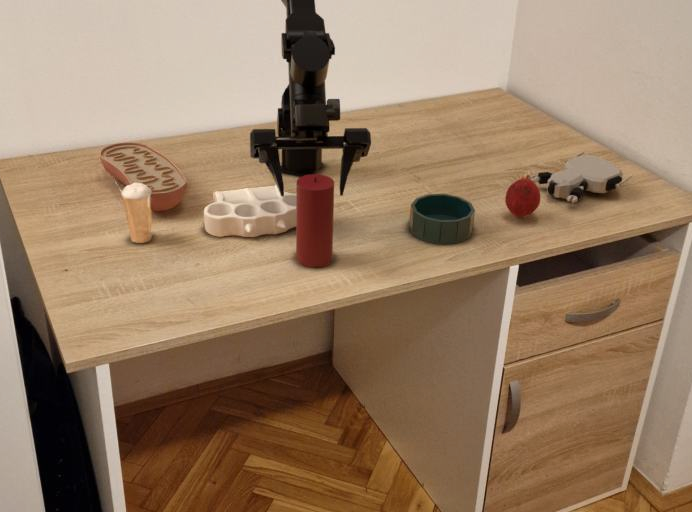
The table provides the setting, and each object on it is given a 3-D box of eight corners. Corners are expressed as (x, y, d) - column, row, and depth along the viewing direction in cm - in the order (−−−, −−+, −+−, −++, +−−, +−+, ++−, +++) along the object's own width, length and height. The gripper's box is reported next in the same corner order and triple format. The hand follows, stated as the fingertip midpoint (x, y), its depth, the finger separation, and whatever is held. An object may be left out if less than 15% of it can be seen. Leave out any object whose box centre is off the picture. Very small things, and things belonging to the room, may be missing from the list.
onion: (536, 227, 156) (543, 183, 152) (501, 223, 157) (508, 179, 153) (537, 212, 161) (544, 169, 157) (503, 208, 162) (509, 165, 157)
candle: (290, 254, 147) (290, 173, 139) (322, 247, 149) (324, 167, 141) (305, 270, 142) (306, 188, 135) (338, 263, 145) (340, 181, 137)
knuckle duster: (296, 195, 164) (321, 232, 153) (194, 206, 159) (212, 247, 148) (296, 177, 162) (321, 214, 151) (193, 188, 157) (211, 228, 146)
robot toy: (571, 218, 162) (632, 193, 168) (575, 194, 159) (636, 170, 165) (523, 191, 170) (583, 169, 176) (525, 168, 167) (586, 146, 174)
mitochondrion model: (95, 174, 169) (91, 148, 166) (146, 163, 173) (144, 137, 170) (146, 225, 153) (143, 197, 150) (201, 211, 158) (199, 184, 155)
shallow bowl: (401, 236, 152) (403, 213, 150) (421, 211, 160) (423, 189, 158) (461, 249, 149) (464, 226, 147) (478, 223, 157) (481, 200, 155)
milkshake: (123, 232, 151) (116, 174, 145) (156, 231, 151) (151, 174, 146) (120, 245, 147) (113, 187, 141) (154, 245, 148) (148, 187, 142)
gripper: (248, 78, 139) (251, 178, 136) (372, 77, 141) (378, 176, 138) (249, 109, 150) (252, 202, 147) (364, 108, 152) (369, 200, 149)
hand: (312, 195), depth 145 cm, fingers open, 9 cm apart
